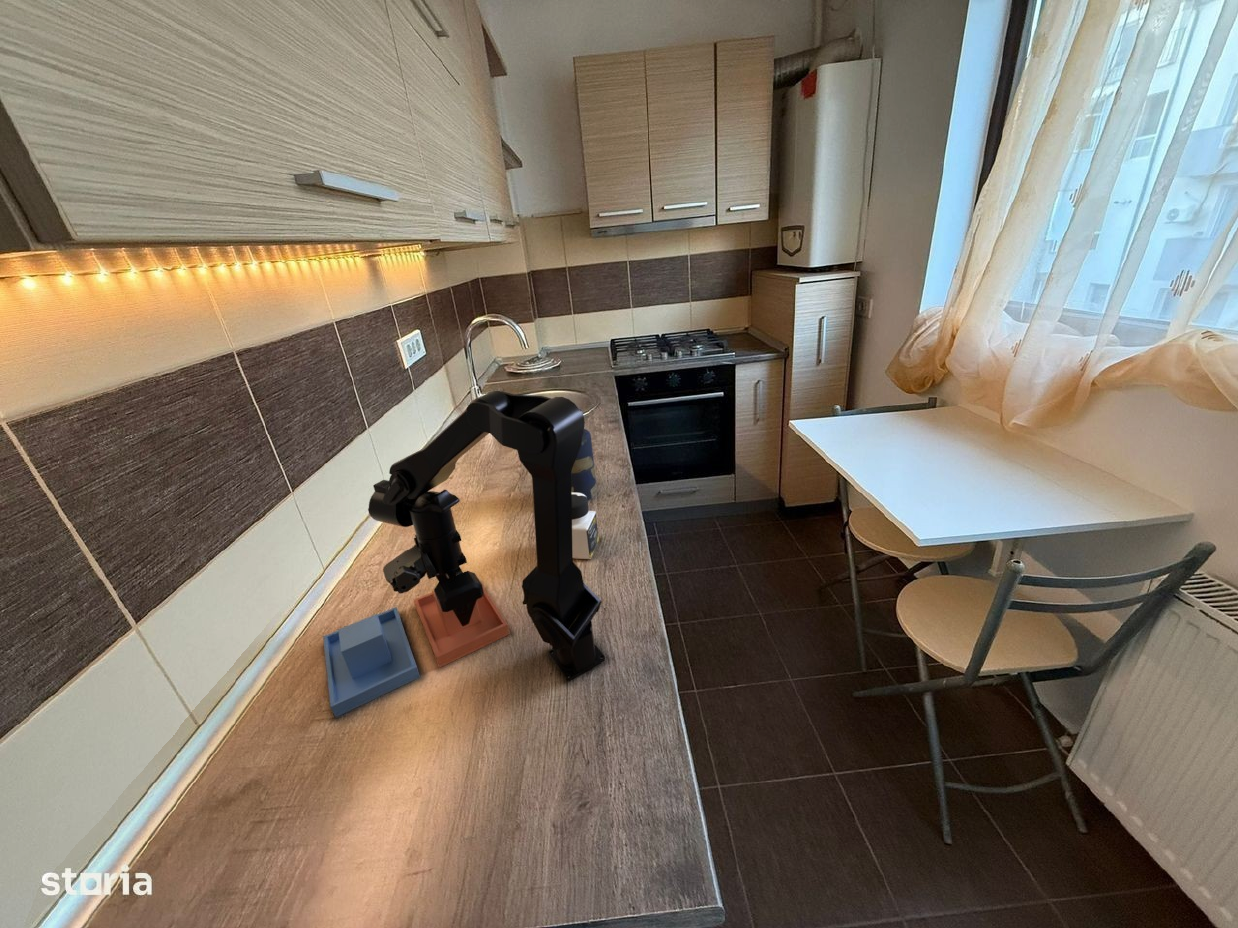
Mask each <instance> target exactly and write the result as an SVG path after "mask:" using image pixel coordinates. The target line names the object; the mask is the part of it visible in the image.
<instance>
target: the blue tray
mask: <svg viewBox="0 0 1238 928" xmlns="http://www.w3.org/2000/svg"><path fill="white" fill-rule="evenodd" d="M376 614H377V613H376ZM377 615H378V618H379V621H380V623H381V626H382V629H383V632H384V634H385V637H386V640H387V643H388V647H389V651H390V654H391V658H392V662H391V663H388V664H386V665H384V666H382V667H379V668H377V669H375V670H373V671H371V672H368V673H366V674H364V675H362V676H360V677H357V678H355V679H352V676H351V674H350V672H349V669H348V667H347V665H346V662H345V660H344V657H343V655H342V653H341V647H340V640H339V633H338V630H336V631H333V632H330V633H328V634H326V635H322V639H323V650H324V659H325V669H326V675H327V676H326V679H327V688H328V696H329V697H328V699H329V705H330V709H331V711H332V714H333V716H334V718H338V717H341V716H342V715H345V714H347V713H349V712H351V711H352V710H354V709H357V708H359V707H361V706H363V705H365V704H367V703H369V702H371V701H373V700H375V699H377V698H380V697H383V696H384V695H386V694H388V693H390V692H392V691H394V690H396V689H398V688H401V687H403V686H405V685H407V684H409V683H411V682H413V681H415V680H418V679H419V678H421V676H420V672H419V670H418V666H417V663H416V661H415V658H414V655H413V651H412V648H411V645H410V643H409V640H408V637H407V634H406V630H405V627H404V625H403V622H402V618H401V616H400V613H399V610H398V607H397V606H395V607H393V608H390V609H387V610H385V611H382V612H380V613H378V614H377Z"/></svg>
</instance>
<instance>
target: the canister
mask: <svg viewBox="0 0 1238 928" xmlns="http://www.w3.org/2000/svg"><path fill="white" fill-rule="evenodd" d="M571 487H572V493H574V492H576V493H582V494H584V495H585V496H586V497H587V500H588V501H590V500H591V499H593V498H594V497H595V495H596V494H597V491H598V487H597V477H596V468H595V459H594V452H593V442H592V435H591V432H590V431H589V430H588V429H586V428H584V432H583V437H582V443H581V447H580V450H579V453H578V455H577V458H576V460H575V463H574V465H573V468H572V472H571Z"/></svg>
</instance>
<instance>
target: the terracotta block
mask: <svg viewBox="0 0 1238 928" xmlns="http://www.w3.org/2000/svg"><path fill="white" fill-rule="evenodd" d="M432 592H433V596H434V599H435V602H436V606H437V609H438V613H439V616H440V619H441V621H442V623H443V625H444V627H445V630H446V632H447V634H448V636H450V635H452V634H454V633H457V632H459V631H461V630H463V629H465V628H468V627H470V626H472V625H474V624H476V623H479V622H481V617H480V613H479V609H478V605H477V601H476V604H475V606H474V609H473V613H472V616H471V619H470V622H469V624H467V625H465V626H462V625H461V623H460V622H459V620H458V618H457V617H456V615H455V613H454V612H453V610H451V611H449V612H442V610H441V608H440V605H439V603H438V601H437V598H436V595H435V592H434V590H433V591H431V593H432Z"/></svg>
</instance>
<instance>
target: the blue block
mask: <svg viewBox="0 0 1238 928" xmlns="http://www.w3.org/2000/svg"><path fill="white" fill-rule="evenodd" d="M337 631H338V633H339V640H340V647H341V653H342V655H343V657H344V660H345V662H346V665H347V667H348V669H349V672H350V674H351V676H352V679H355V678H357V677H360V676H362V675H364V674H366V673H368V672H371V671H373V670H375V669H377V668H379V667H382V666H384V665H386V664H388V663H391V662H392V658H391V654H390V651H389V647H388V643H387V640H386V637H385V634H384V632H383V629H382V626H381V623H380V621H379V618H378V615H377V613H376V614H373V615H371V616H368V617H365V618H363V619H361V620H358V621H355V622H353V623H350V624H348V625H346V626H343V627H340V628H338V629H337Z"/></svg>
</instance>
